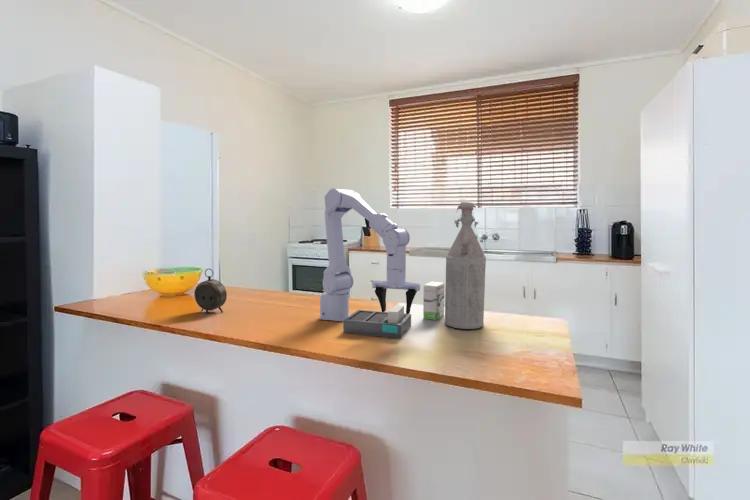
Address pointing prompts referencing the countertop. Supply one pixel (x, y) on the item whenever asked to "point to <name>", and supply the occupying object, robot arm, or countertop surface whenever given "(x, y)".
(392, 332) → the rack
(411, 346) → the countertop surface
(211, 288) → the alarm clock
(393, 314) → the block
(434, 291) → the ink box
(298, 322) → the countertop surface
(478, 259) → the grey bottle
